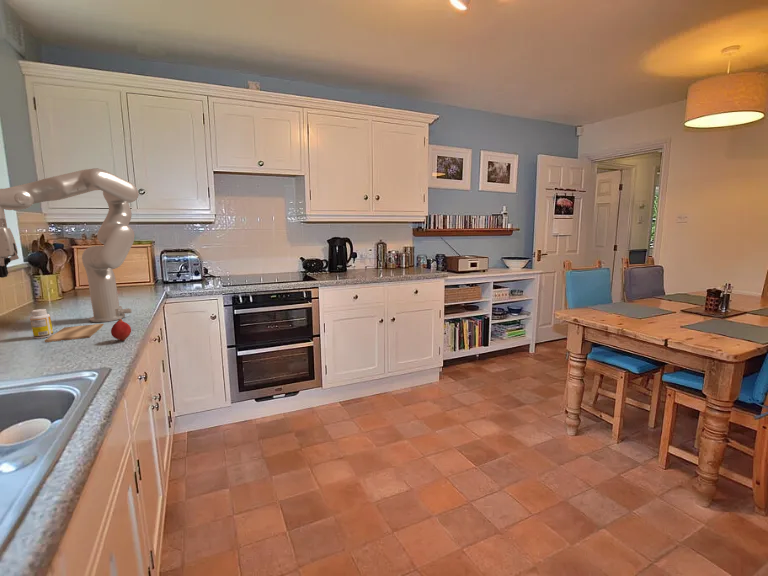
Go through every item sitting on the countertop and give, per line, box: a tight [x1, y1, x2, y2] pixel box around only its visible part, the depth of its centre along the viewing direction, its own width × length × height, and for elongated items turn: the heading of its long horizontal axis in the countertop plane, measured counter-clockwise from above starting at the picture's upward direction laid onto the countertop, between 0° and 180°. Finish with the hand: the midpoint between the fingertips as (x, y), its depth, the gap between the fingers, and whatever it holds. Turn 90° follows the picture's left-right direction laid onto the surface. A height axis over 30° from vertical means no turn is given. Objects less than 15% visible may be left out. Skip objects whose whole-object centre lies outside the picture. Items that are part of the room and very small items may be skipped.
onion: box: [110, 318, 132, 342], centre depth 136 cm, size 6×6×8 cm
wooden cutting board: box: [44, 323, 104, 343], centre depth 147 cm, size 13×18×1 cm
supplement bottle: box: [29, 308, 54, 339], centre depth 143 cm, size 6×6×10 cm
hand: (2, 277), depth 136 cm, fingers closed
